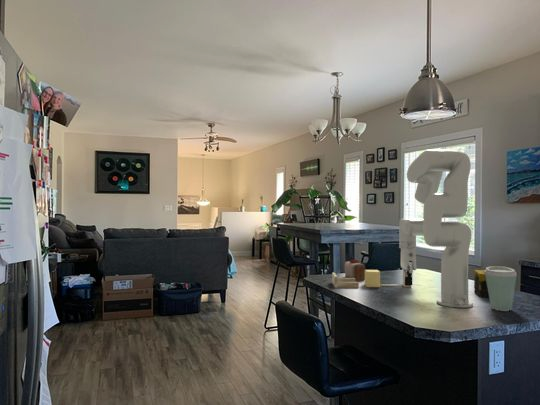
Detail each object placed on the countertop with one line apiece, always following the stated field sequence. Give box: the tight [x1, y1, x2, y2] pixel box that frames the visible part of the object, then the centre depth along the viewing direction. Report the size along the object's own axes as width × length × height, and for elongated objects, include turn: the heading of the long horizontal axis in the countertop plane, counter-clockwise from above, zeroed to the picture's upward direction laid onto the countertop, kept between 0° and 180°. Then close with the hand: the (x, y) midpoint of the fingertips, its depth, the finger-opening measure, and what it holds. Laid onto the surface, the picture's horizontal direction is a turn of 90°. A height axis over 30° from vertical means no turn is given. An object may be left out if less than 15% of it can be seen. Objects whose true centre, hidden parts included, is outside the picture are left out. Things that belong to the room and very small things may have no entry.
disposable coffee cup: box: [484, 265, 518, 312], centre depth 147 cm, size 11×11×15 cm
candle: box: [473, 269, 490, 299], centre depth 170 cm, size 10×10×10 cm
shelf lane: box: [331, 272, 360, 289], centre depth 189 cm, size 11×11×5 cm
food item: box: [344, 259, 366, 282], centre depth 207 cm, size 14×8×10 cm, turn 12°
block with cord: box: [364, 269, 412, 288], centre depth 188 cm, size 6×20×7 cm, turn 87°
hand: (407, 284), depth 187 cm, fingers closed on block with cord, 3 cm apart
